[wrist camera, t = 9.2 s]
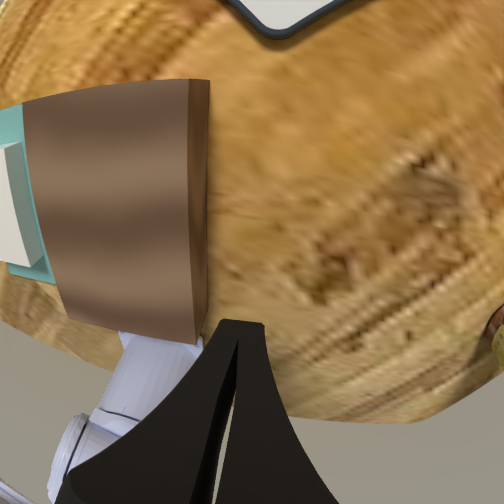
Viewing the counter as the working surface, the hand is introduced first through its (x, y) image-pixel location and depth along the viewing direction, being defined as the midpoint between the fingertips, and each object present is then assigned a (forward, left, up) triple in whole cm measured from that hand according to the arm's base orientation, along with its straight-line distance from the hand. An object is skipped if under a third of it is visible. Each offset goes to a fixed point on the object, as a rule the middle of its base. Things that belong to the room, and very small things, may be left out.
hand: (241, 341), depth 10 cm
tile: (0, +22, -8) cm, 23 cm away
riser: (0, +9, -10) cm, 14 cm away
